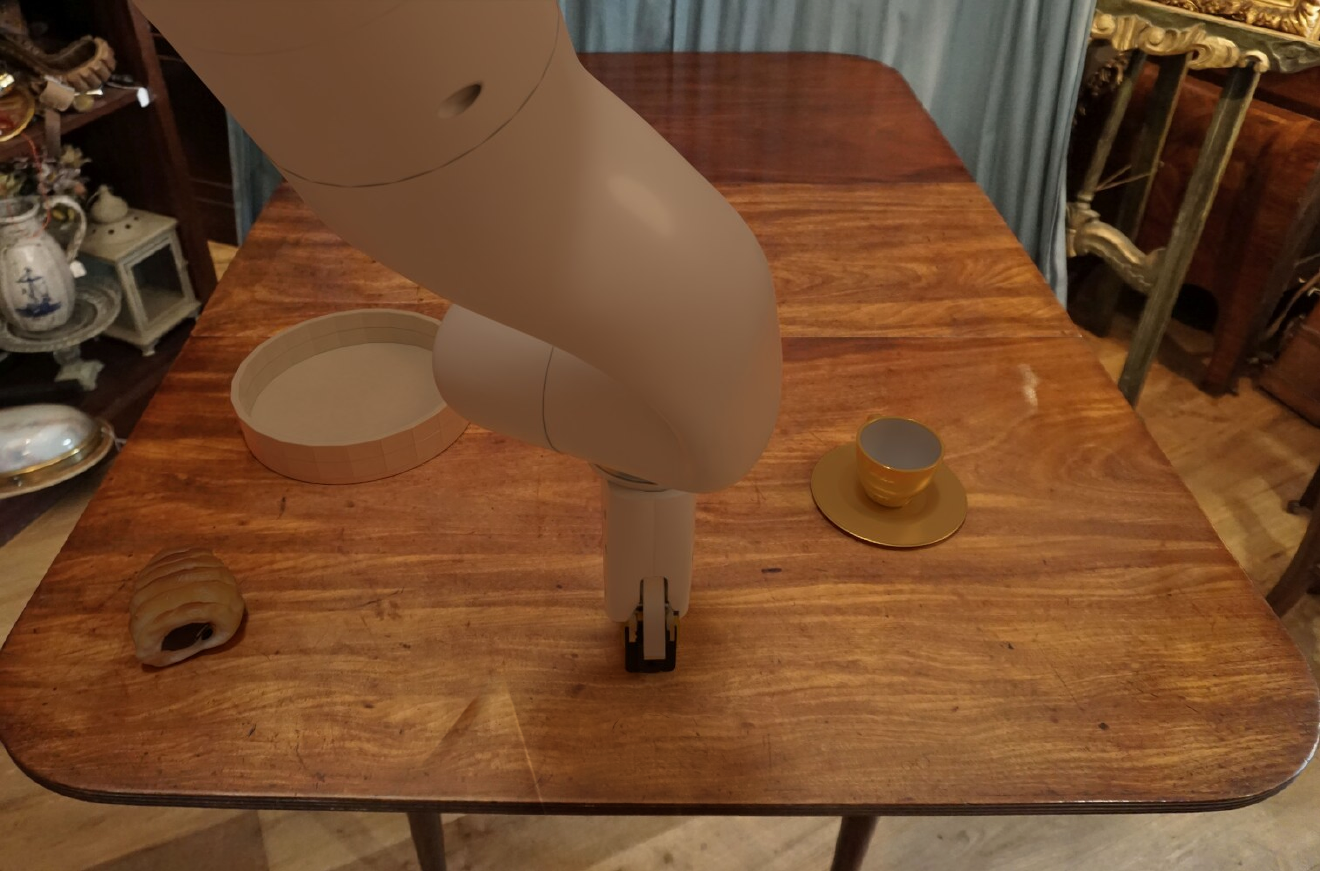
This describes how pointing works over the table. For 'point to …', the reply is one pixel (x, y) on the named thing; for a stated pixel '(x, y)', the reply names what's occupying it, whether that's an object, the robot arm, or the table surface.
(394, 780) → the table surface
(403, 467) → the bowl
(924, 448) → the cup
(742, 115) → the table surface
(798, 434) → the table surface
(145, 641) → the pastry
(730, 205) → the robot arm
